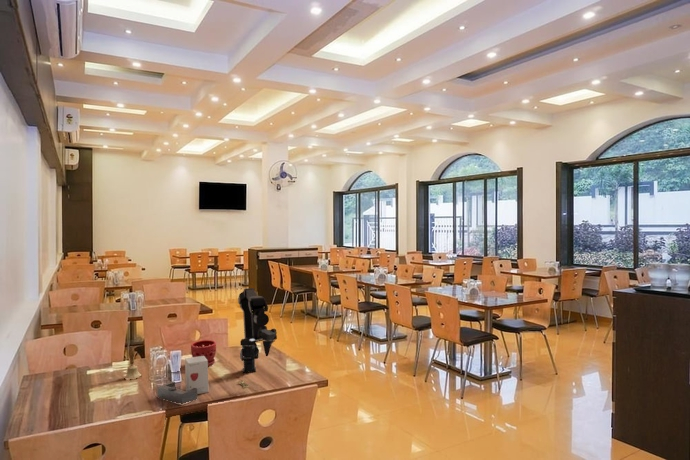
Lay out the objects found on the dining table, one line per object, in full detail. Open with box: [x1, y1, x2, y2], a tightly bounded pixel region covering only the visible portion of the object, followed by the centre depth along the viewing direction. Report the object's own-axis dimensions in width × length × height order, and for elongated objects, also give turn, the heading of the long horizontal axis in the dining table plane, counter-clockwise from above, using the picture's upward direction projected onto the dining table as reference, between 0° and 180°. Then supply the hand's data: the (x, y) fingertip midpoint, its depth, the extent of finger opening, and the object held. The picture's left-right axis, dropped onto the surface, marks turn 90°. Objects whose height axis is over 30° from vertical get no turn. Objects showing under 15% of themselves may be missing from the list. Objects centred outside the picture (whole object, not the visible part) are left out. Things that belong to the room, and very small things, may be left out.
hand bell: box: [124, 345, 142, 378], centre depth 240 cm, size 8×8×16 cm
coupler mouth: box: [157, 381, 198, 404], centre depth 210 cm, size 8×17×6 cm, turn 56°
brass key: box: [237, 380, 249, 389], centre depth 225 cm, size 8×3×1 cm, turn 37°
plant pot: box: [190, 339, 217, 367], centre depth 257 cm, size 13×13×12 cm
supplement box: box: [184, 356, 210, 395], centre depth 218 cm, size 9×9×15 cm
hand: (260, 358), depth 221 cm, fingers open, 9 cm apart
